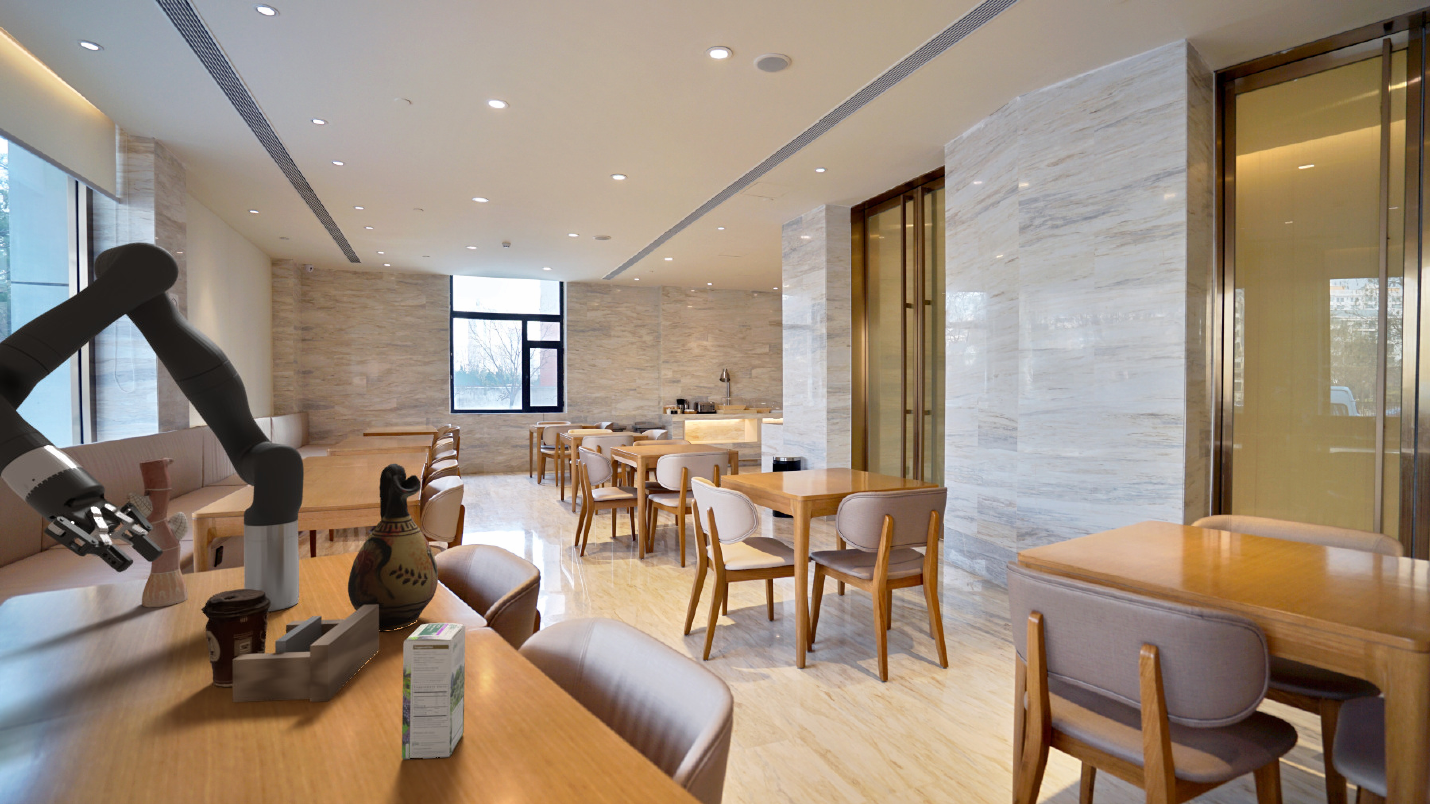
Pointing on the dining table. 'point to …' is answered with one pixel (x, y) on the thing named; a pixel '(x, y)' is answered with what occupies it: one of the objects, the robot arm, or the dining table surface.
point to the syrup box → (433, 690)
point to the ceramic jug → (394, 558)
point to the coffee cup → (235, 629)
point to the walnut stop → (310, 662)
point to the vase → (161, 535)
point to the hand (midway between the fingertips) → (142, 562)
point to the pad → (300, 636)
